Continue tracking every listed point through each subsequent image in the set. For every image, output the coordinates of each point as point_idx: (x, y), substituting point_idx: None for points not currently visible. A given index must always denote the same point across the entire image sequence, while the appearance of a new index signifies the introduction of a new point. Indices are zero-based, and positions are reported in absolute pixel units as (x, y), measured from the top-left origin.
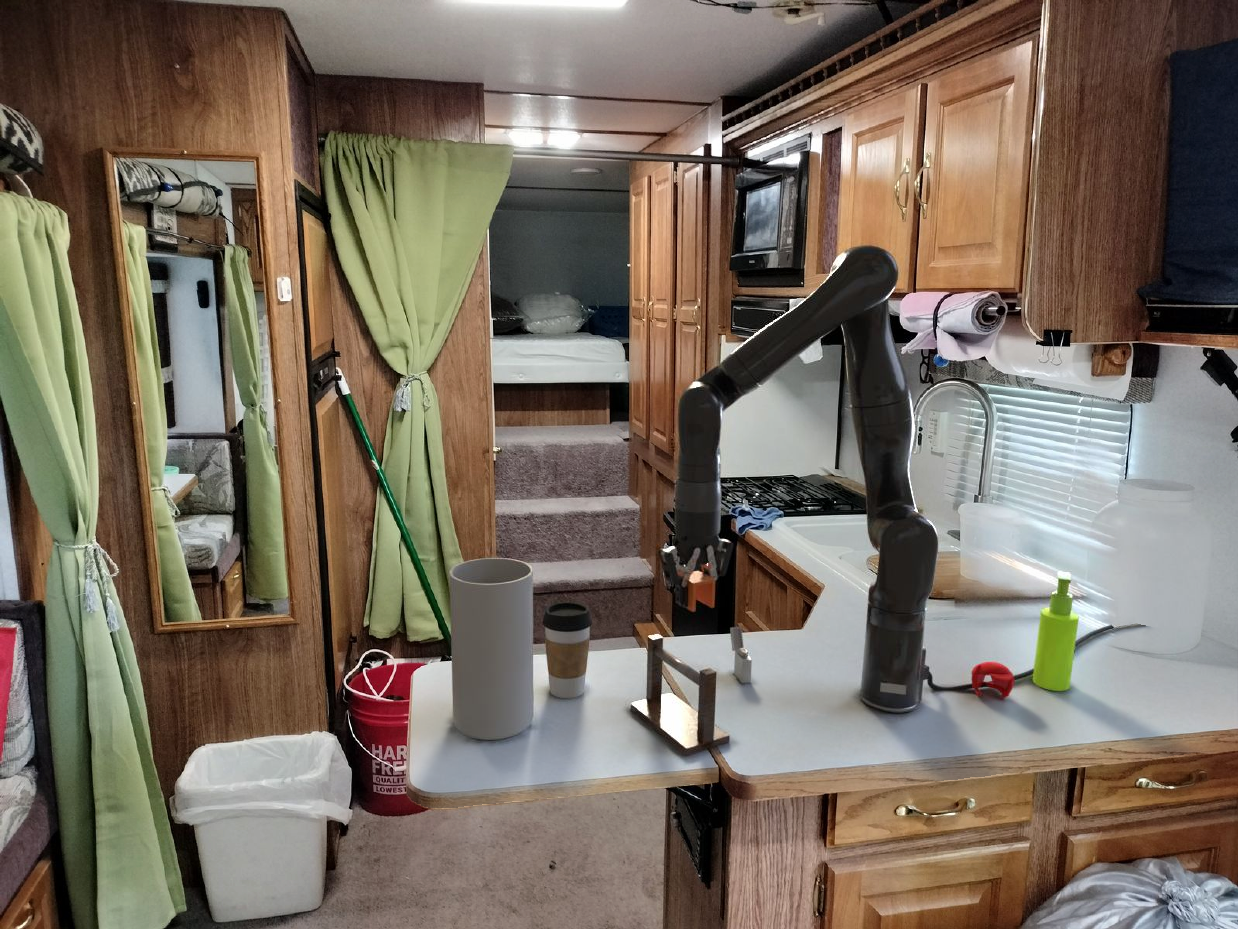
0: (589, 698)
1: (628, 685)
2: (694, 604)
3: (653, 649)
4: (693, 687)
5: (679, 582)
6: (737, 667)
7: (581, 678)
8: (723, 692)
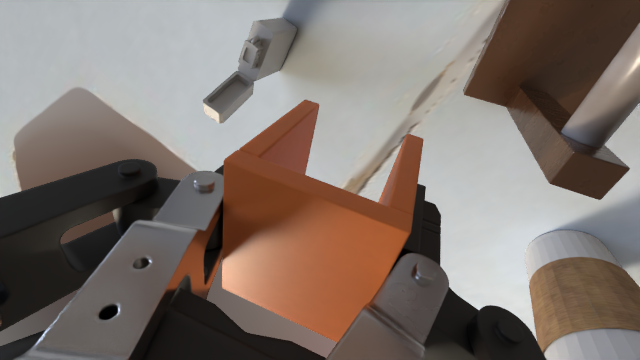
0: (570, 211)
1: (464, 186)
2: (411, 150)
3: (606, 149)
4: (383, 90)
5: (447, 306)
6: (276, 58)
7: (584, 253)
8: (356, 28)
